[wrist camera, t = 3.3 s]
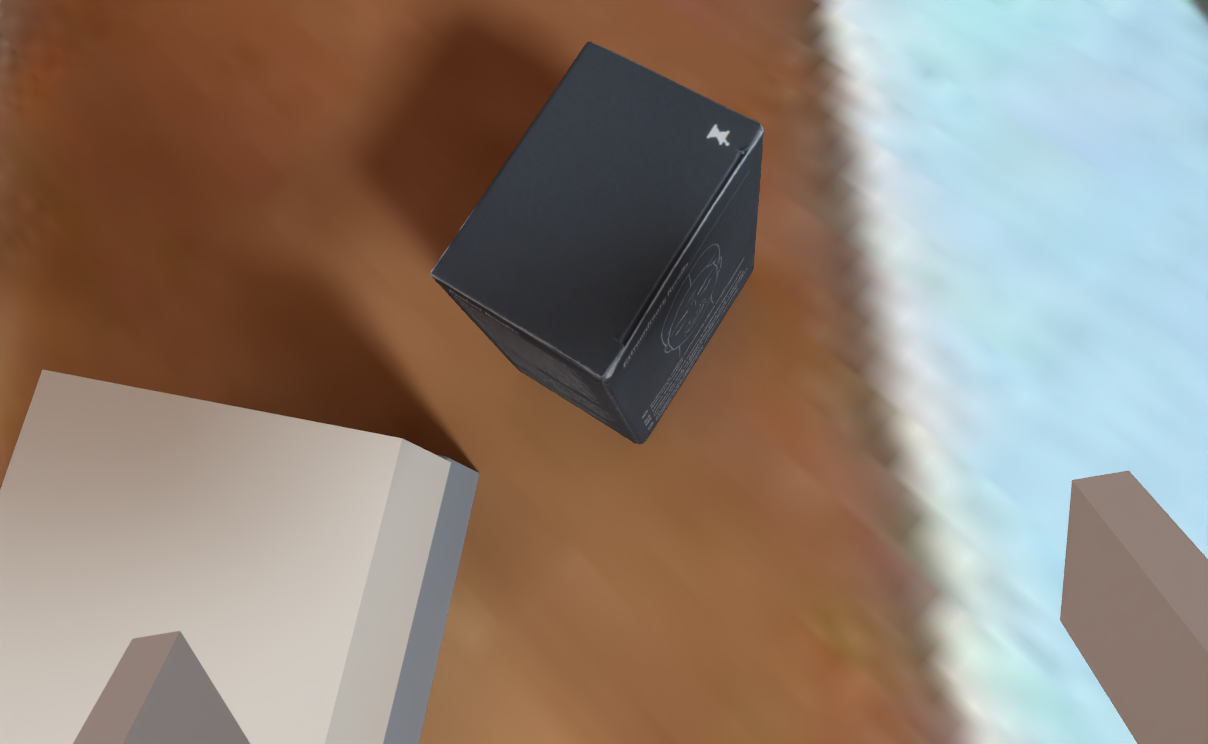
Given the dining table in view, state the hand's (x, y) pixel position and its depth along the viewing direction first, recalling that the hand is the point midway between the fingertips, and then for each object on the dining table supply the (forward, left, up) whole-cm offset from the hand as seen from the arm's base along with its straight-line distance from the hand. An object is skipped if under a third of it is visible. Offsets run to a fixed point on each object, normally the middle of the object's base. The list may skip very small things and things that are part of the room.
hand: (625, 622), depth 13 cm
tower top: (+2, -13, -13) cm, 19 cm away
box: (-10, -3, -18) cm, 20 cm away
